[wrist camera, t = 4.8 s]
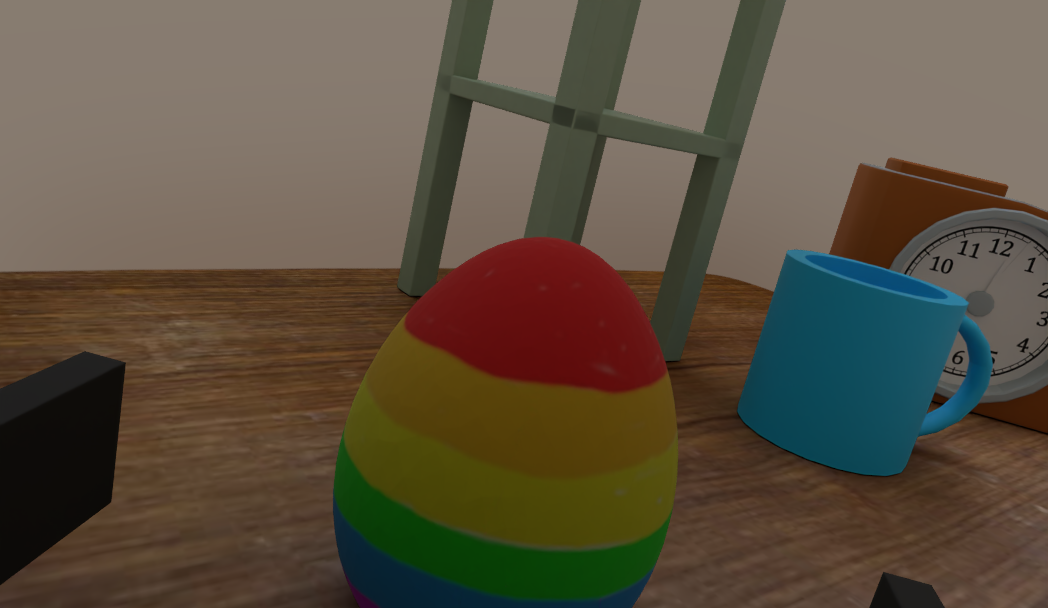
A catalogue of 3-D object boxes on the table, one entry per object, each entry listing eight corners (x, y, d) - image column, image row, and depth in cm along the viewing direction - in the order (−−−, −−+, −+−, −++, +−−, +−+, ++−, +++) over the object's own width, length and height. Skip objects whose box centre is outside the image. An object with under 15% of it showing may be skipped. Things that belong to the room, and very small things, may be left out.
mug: (782, 462, 36) (843, 284, 34) (712, 388, 43) (758, 239, 41) (1013, 495, 38) (1083, 332, 36) (908, 419, 46) (961, 281, 44)
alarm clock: (808, 368, 52) (881, 154, 48) (797, 334, 60) (858, 150, 56) (1058, 438, 49) (1154, 219, 46) (1011, 393, 57) (1090, 204, 54)
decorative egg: (539, 517, 27) (617, 218, 24) (689, 704, 20) (821, 315, 17) (283, 531, 23) (343, 177, 20) (360, 770, 16) (465, 281, 13)
